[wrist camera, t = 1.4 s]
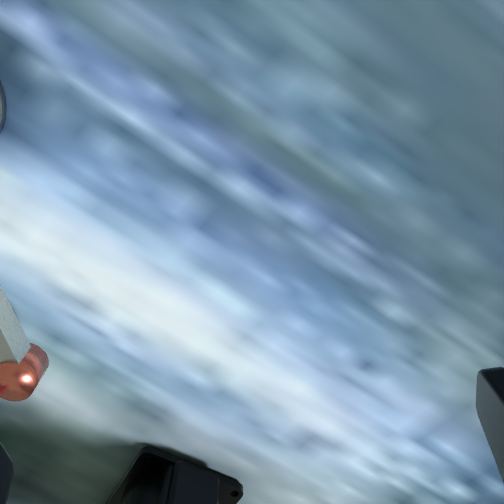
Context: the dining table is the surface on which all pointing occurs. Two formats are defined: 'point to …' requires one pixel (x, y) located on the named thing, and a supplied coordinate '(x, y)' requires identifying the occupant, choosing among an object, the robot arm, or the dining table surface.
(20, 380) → the clip
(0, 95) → the clip post
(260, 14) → the dining table surface
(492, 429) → the robot arm
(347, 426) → the dining table surface
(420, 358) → the dining table surface
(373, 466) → the dining table surface
